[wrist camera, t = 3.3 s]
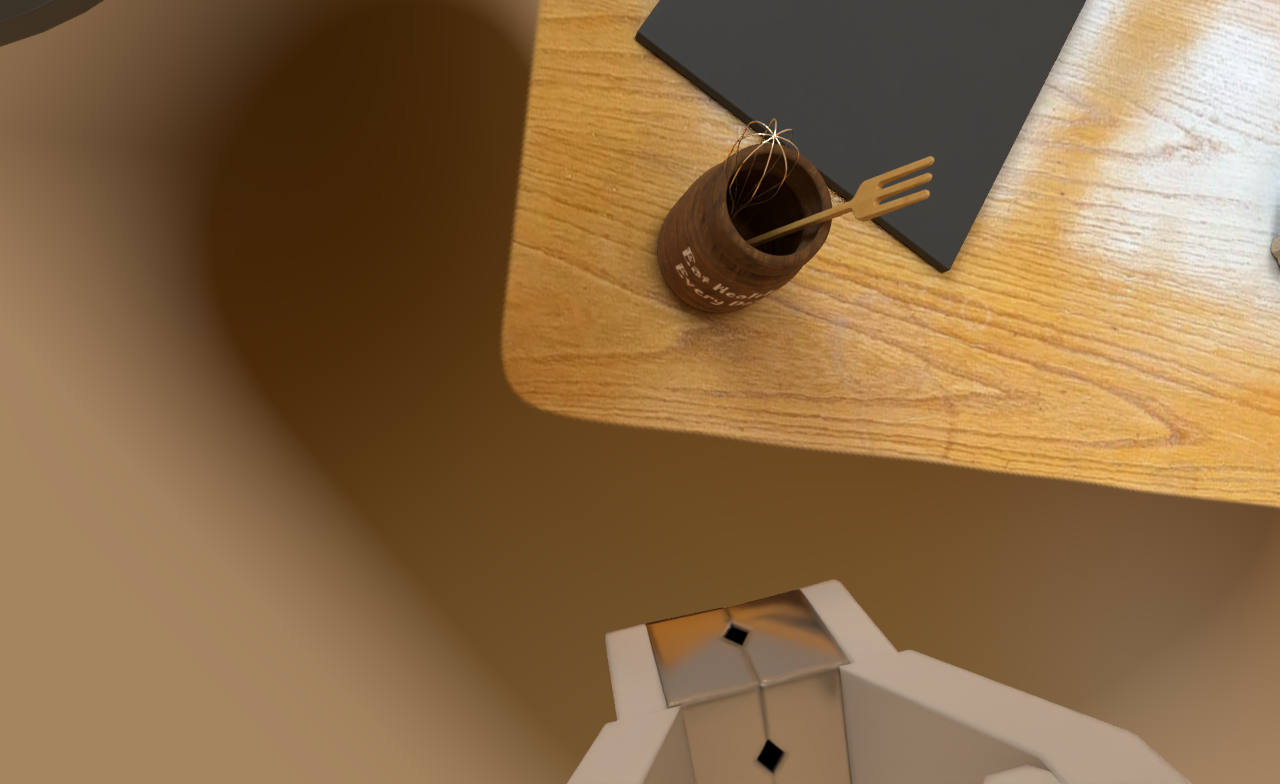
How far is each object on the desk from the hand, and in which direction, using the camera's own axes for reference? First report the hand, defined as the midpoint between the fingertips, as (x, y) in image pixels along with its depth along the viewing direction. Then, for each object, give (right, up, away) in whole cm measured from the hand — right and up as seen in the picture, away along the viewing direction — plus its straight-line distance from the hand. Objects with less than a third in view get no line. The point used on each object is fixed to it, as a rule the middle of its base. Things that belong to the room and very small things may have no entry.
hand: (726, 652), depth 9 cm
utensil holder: (+2, +10, +26) cm, 27 cm away
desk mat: (+16, +30, +31) cm, 46 cm away
